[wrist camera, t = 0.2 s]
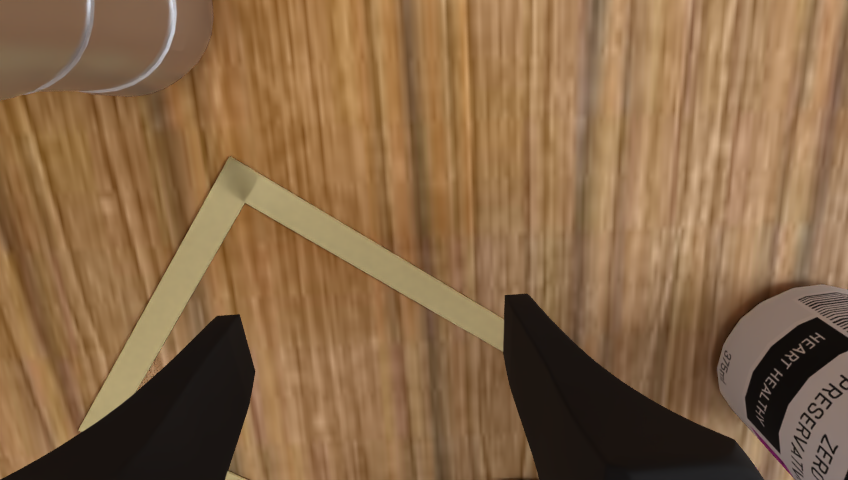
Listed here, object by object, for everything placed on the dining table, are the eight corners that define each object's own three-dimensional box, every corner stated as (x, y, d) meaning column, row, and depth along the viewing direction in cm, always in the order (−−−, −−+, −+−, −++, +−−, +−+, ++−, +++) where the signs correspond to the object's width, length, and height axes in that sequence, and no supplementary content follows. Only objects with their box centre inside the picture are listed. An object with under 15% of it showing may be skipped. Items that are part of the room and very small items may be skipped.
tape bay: (451, 593, 33) (452, 594, 33) (79, 429, 28) (78, 430, 28) (633, 396, 29) (634, 397, 29) (230, 156, 23) (229, 156, 23)
